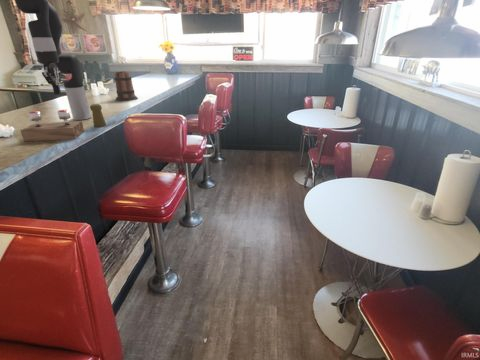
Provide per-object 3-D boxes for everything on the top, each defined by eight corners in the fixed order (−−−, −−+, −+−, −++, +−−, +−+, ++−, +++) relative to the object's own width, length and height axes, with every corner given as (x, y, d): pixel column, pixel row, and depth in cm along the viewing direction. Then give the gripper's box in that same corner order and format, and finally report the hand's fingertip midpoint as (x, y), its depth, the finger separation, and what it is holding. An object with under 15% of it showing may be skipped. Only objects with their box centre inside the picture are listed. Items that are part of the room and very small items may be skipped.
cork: (101, 127, 143) (96, 105, 138) (91, 126, 144) (85, 105, 139) (108, 124, 148) (104, 103, 144) (98, 124, 149) (93, 102, 145)
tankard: (135, 100, 212) (130, 72, 203) (112, 101, 210) (106, 73, 202) (142, 95, 233) (137, 69, 224) (121, 96, 232) (116, 70, 223)
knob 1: (35, 125, 129) (30, 111, 126) (46, 125, 129) (41, 110, 126) (30, 128, 125) (25, 113, 122) (41, 127, 125) (36, 112, 122)
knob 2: (63, 124, 130) (59, 109, 127) (73, 123, 131) (70, 109, 128) (59, 126, 126) (55, 111, 124) (70, 126, 127) (66, 111, 124)
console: (37, 133, 134) (34, 123, 132) (84, 131, 137) (81, 121, 135) (24, 141, 123) (20, 130, 121) (75, 138, 126) (72, 127, 124)
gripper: (43, 50, 121) (55, 92, 128) (27, 50, 109) (41, 96, 116) (62, 50, 122) (72, 91, 129) (48, 50, 110) (61, 96, 117)
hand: (57, 94), depth 123 cm, fingers closed
